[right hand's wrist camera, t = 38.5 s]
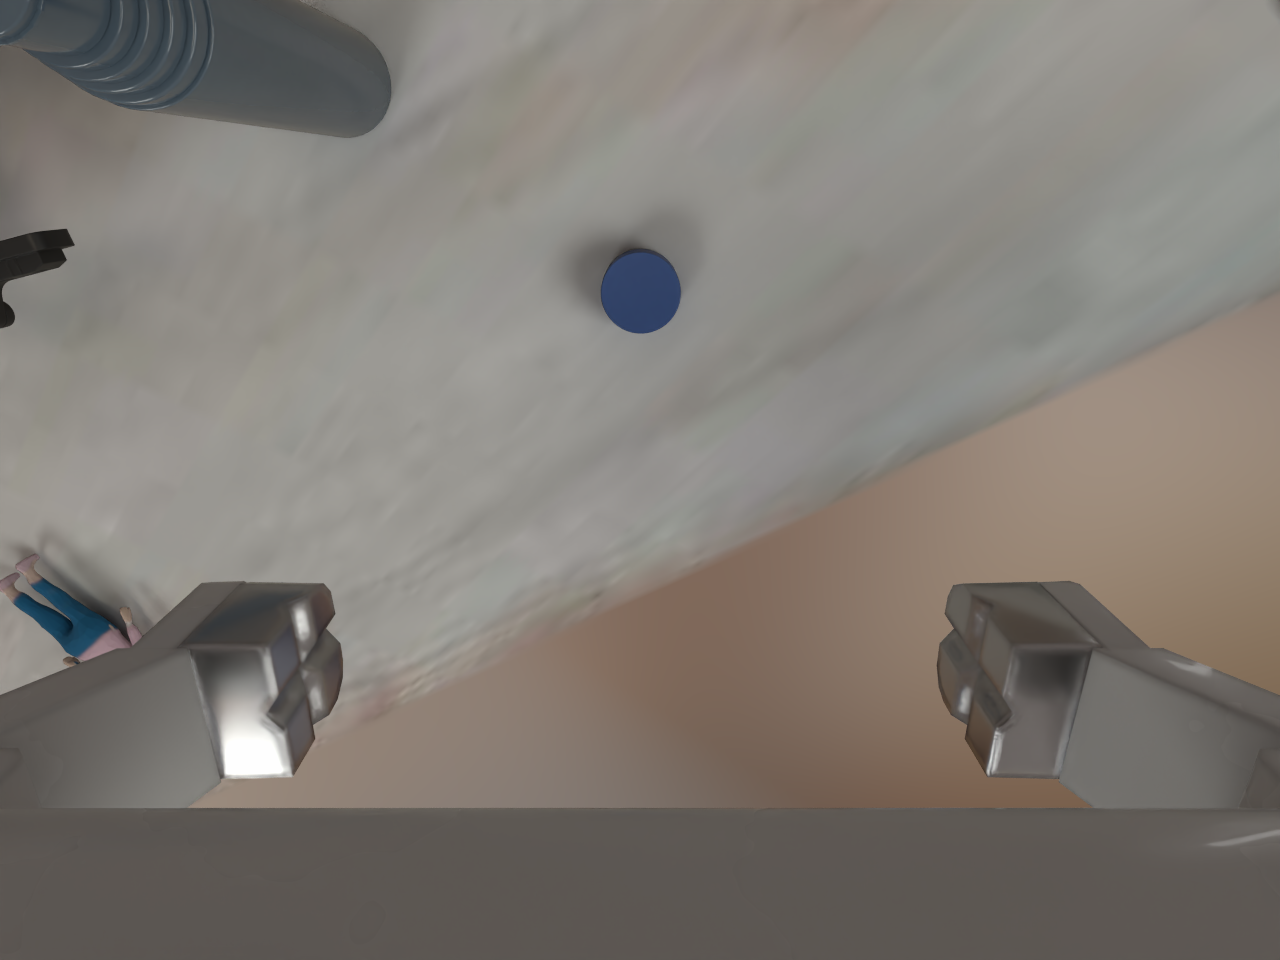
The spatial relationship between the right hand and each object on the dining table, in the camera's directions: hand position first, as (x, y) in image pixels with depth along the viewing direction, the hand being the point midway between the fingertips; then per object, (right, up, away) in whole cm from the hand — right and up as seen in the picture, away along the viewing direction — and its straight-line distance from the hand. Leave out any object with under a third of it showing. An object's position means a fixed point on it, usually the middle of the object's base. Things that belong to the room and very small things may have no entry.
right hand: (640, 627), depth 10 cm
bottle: (-15, +21, +27) cm, 38 cm away
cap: (0, +12, +29) cm, 32 cm away
